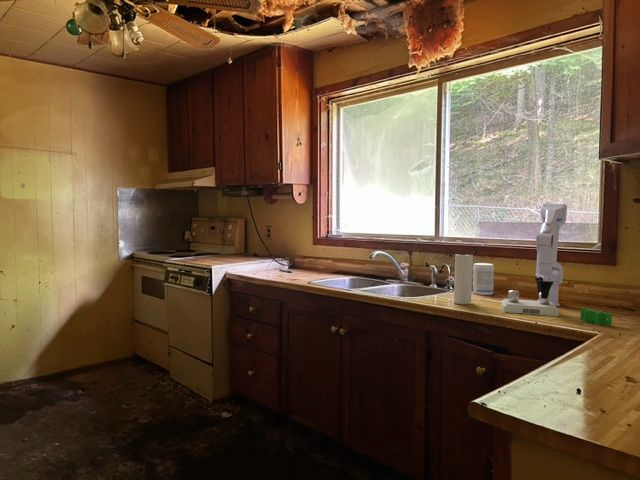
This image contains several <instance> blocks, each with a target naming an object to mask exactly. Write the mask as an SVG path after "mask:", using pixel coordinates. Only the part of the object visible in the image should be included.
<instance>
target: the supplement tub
mask: <svg viewBox="0 0 640 480" xmlns="http://www.w3.org/2000/svg"><path fill="white" fill-rule="evenodd" d="M494 275H495V267H494V264H493V263H486V262H477V263H474V262H473V267H472V293H473V294H475V295H480V296H492V295H494V283H495V281H494V280H495V279H494V278H495V277H494Z"/></svg>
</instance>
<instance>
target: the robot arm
mask: <svg viewBox="0 0 640 480" xmlns="http://www.w3.org/2000/svg"><path fill="white" fill-rule="evenodd" d="M567 206H568V205H567V204H566V203H542V204H541V206H540V217H541V222H542V224H541V225H540V230H539V232H538V234H536V238H535V244H536V252H537V253H536V267H535V268H536V271H535V276H536V277H534V281H535V283H536V286H537V292H538V295H539V292H540V293H541V298H545V299H547V298H548V295H549V293H550V302H552V303H553V304H554V305H555V306H556V307H561V305H560V303H559V285H561V284H562V283H563V279H564V267H563V266H562V265H561V264H560V263H559V262H558V261H557V259H558V250H559V249H558V246H559V236H560V228H561V227H562V225H565V224H566V221H567V212H568V207H567ZM536 301H539V299H537V300H536Z"/></svg>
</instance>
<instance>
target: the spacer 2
mask: <svg viewBox="0 0 640 480" xmlns="http://www.w3.org/2000/svg"><path fill="white" fill-rule="evenodd" d="M538 300H539V304H542V305H550V293H549V295H548V298H547V299H545V298H541V293H540V292H539V294H538Z"/></svg>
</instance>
